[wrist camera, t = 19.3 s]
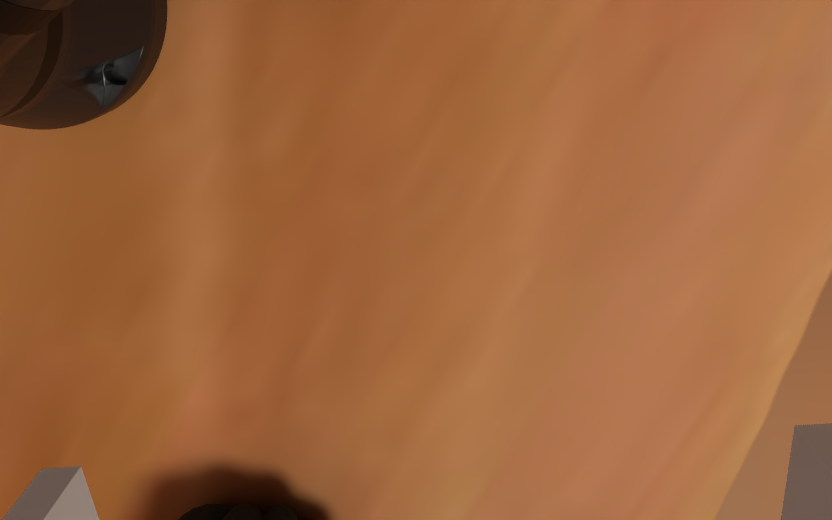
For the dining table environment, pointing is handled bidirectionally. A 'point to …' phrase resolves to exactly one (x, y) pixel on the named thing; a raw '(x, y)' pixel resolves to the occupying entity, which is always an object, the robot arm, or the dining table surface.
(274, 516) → the squash
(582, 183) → the dining table surface
